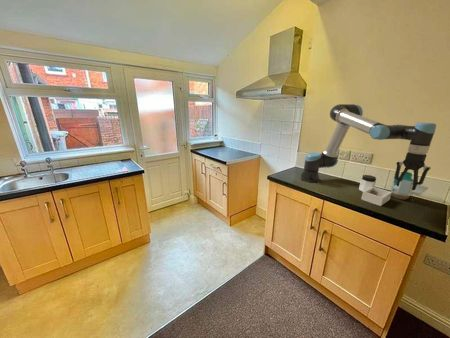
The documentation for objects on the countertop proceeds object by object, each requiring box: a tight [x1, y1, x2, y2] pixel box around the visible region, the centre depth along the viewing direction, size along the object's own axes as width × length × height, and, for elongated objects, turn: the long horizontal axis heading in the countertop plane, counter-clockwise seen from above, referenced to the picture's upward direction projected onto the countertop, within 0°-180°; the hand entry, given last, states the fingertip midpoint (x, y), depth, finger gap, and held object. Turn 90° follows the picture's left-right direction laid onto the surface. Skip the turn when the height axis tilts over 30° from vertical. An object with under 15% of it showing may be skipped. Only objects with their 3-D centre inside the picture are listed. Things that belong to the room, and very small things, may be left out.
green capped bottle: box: [390, 171, 414, 201], centre depth 130 cm, size 11×11×19 cm
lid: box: [391, 179, 429, 197], centre depth 110 cm, size 12×22×8 cm, turn 124°
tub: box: [360, 186, 392, 207], centre depth 128 cm, size 11×16×6 cm
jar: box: [358, 174, 377, 193], centre depth 141 cm, size 9×8×12 cm
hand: (403, 193), depth 107 cm, fingers closed on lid, 4 cm apart
